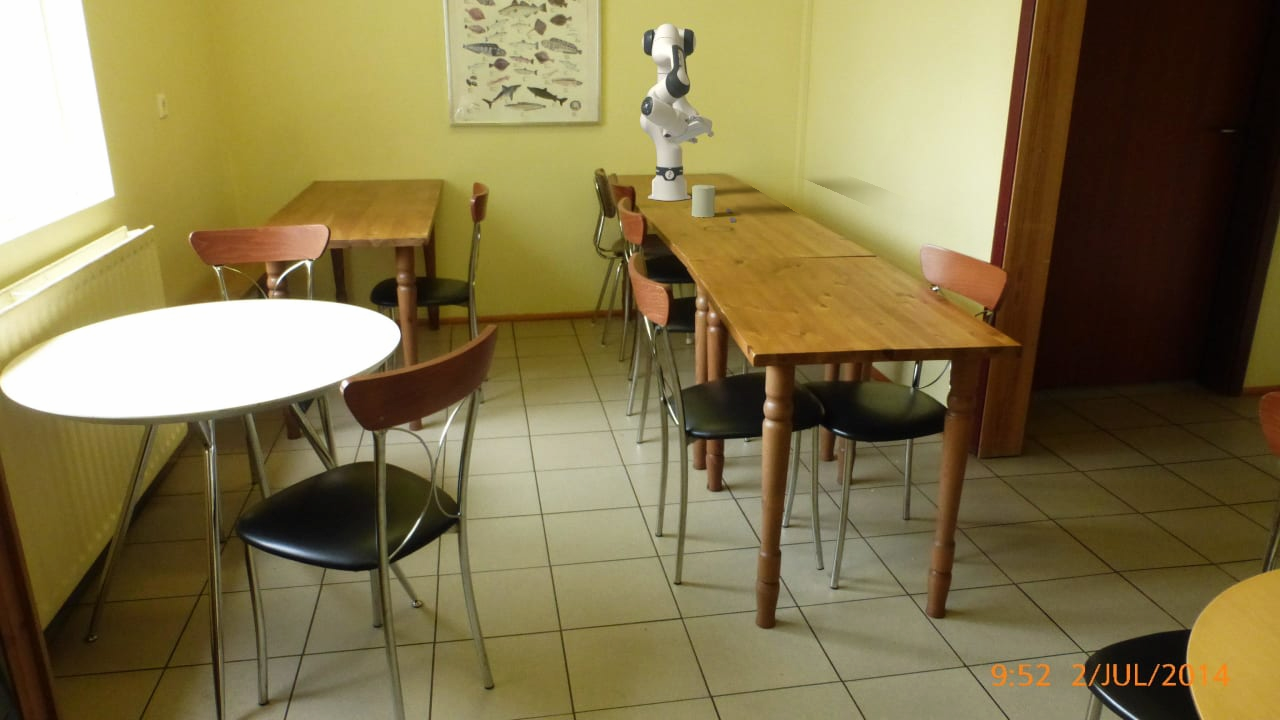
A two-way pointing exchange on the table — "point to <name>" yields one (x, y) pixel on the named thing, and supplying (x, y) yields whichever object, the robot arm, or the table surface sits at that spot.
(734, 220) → the line strip
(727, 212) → the strip
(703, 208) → the can
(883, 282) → the table surface
